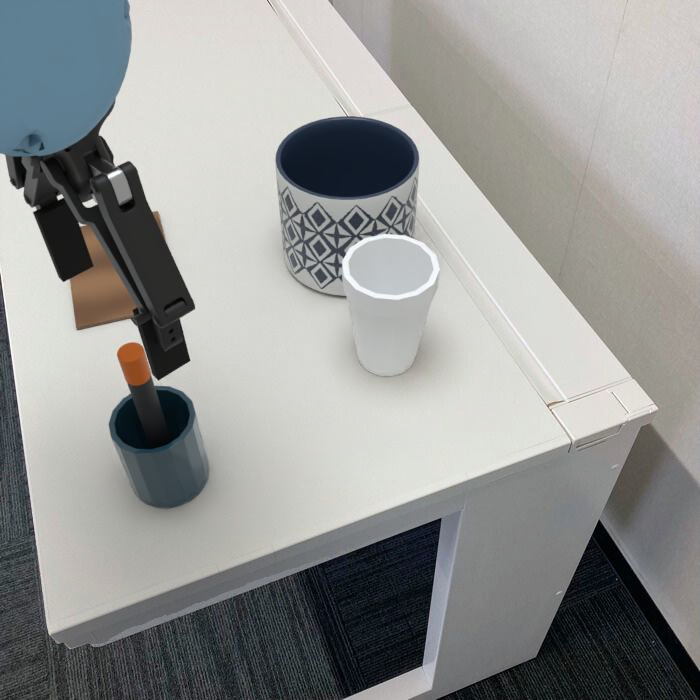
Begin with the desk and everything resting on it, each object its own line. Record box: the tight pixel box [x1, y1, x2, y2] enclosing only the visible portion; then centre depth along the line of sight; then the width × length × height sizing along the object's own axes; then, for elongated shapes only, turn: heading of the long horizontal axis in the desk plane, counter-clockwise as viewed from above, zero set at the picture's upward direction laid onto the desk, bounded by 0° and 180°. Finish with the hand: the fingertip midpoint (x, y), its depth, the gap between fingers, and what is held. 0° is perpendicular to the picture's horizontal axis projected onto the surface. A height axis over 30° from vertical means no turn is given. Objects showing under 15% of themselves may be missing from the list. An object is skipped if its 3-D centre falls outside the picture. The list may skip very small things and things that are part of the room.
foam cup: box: [342, 234, 441, 377], centre depth 79 cm, size 10×9×13 cm
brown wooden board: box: [69, 210, 167, 331], centre depth 94 cm, size 18×12×1 cm, turn 18°
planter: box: [274, 115, 420, 297], centre depth 90 cm, size 16×16×14 cm
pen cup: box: [108, 385, 210, 509], centre depth 71 cm, size 7×7×9 cm
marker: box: [116, 341, 172, 449], centre depth 67 cm, size 2×2×17 cm
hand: (121, 317), depth 58 cm, fingers open, 13 cm apart
